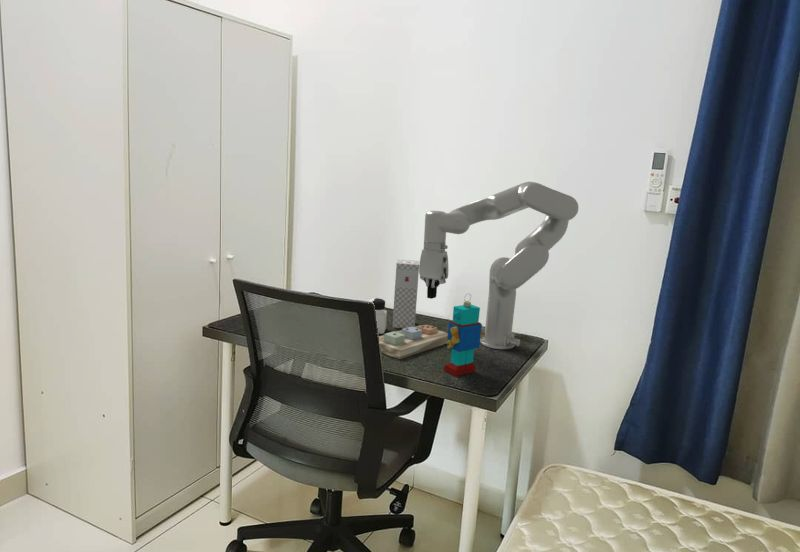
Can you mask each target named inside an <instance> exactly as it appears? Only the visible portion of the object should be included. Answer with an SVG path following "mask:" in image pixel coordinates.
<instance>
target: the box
mask: <svg viewBox="0 0 800 552" xmlns="http://www.w3.org/2000/svg"><path fill="white" fill-rule="evenodd" d="M395 265H396V268H395V279H394V280H395V282H394V283H395V284H394V297H393V298H394V299H393V309H392V310H393V312H392V328H395V329H404V328H408V327H415V326H416V313H417V302H418V301H417V299H418V287H419V286H418V285H419V284H418V283H419V276H420V274H419V265H420V260H410V259H397V260H396V264H395Z"/></svg>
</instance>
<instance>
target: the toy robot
mask: <svg viewBox="0 0 800 552" xmlns="http://www.w3.org/2000/svg"><path fill="white" fill-rule="evenodd" d="M467 295H468V293H467V294H465V295H464V297H466V296H467ZM469 296H470V298H469V300H467V301H466V300H464V301H463V304H462V305H461V304H460V305H455V306H453V312H452V320H451V321H450V322H448V328H447V333H448V338H447V341H446V344H445V345H446V348H447V349H451V352H450V362H448V363H446V364H444V366H443V371H445V372H446V373H448V374H451V375H452V376H454V377H458V376H459V377H460V376H463V375H467V374H470V373H475V372H476V365H475V364H474V354H475V349H479V348H480V347H481V346H480V344H481V343H480V339H482V338H483V336H484V334H483V333H484V332H483V324H482V323H481V322H480V321H479V318H480V312H481V308H480V306H477V305H474V304H472V301H471V299H472V295H471V294H469Z"/></svg>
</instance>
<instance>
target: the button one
mask: <svg viewBox="0 0 800 552" xmlns="http://www.w3.org/2000/svg"><path fill="white" fill-rule="evenodd" d="M383 335H384V342H385V343H388V344H391V345H394V346H396V345H399V344H403V343H405V335H404V334H401V333H398V332H397V331H394V330H393V331H391V332H386V333H384V334H383Z"/></svg>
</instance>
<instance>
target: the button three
mask: <svg viewBox="0 0 800 552" xmlns="http://www.w3.org/2000/svg"><path fill="white" fill-rule="evenodd" d="M422 325H423V326H419V325H418V326H419V327H418V329H420V330H422V333H423V334H426V335H432V334H435V333H437V330H438V327H436V326H433V325H429V324H422Z"/></svg>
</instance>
